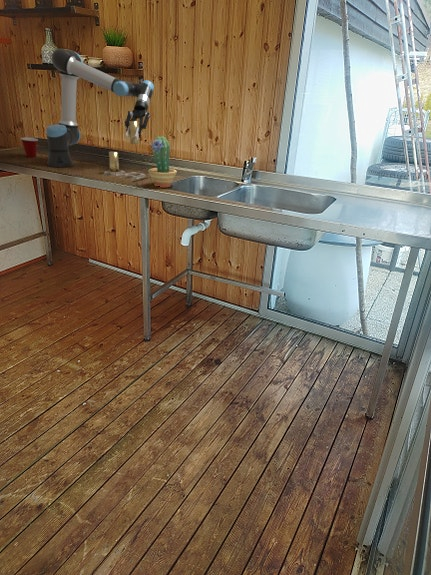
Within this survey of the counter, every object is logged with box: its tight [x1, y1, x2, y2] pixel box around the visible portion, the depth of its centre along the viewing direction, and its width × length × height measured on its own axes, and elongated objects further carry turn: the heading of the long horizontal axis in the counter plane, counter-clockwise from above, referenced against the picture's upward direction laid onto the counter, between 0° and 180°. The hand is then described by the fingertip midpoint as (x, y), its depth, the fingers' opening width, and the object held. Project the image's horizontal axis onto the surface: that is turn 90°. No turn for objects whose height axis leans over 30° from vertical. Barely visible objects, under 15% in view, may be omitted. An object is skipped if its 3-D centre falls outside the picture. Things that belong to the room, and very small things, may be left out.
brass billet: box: [129, 120, 140, 145], centre depth 230 cm, size 5×5×12 cm
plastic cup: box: [20, 137, 39, 158], centre depth 271 cm, size 11×11×12 cm
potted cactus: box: [147, 136, 178, 188], centre depth 211 cm, size 15×15×25 cm
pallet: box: [100, 169, 149, 183], centre depth 229 cm, size 23×14×3 cm, turn 65°
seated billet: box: [108, 151, 120, 173], centre depth 229 cm, size 5×5×12 cm
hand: (131, 137), depth 228 cm, fingers closed on brass billet, 5 cm apart
